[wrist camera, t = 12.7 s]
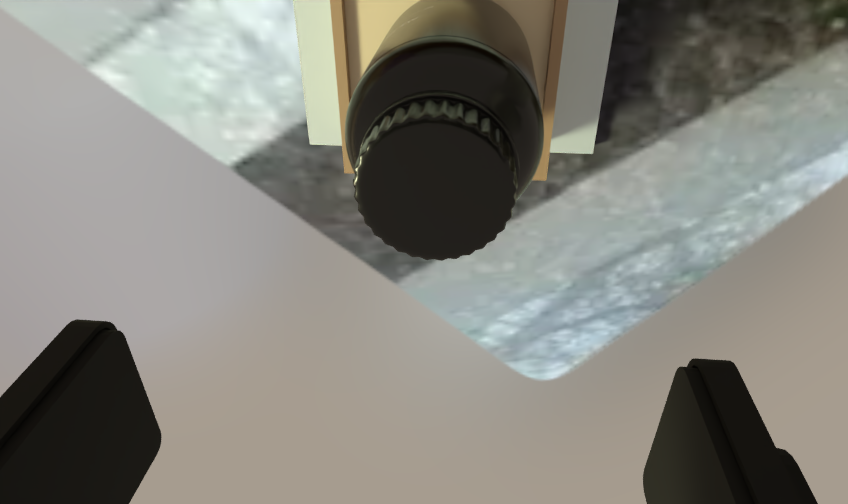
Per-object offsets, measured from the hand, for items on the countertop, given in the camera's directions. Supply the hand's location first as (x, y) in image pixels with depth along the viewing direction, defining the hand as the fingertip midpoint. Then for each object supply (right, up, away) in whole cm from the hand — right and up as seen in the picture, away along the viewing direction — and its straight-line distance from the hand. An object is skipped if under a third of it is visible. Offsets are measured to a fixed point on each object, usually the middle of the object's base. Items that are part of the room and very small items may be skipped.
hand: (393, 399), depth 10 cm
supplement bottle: (+2, +11, +17) cm, 20 cm away
